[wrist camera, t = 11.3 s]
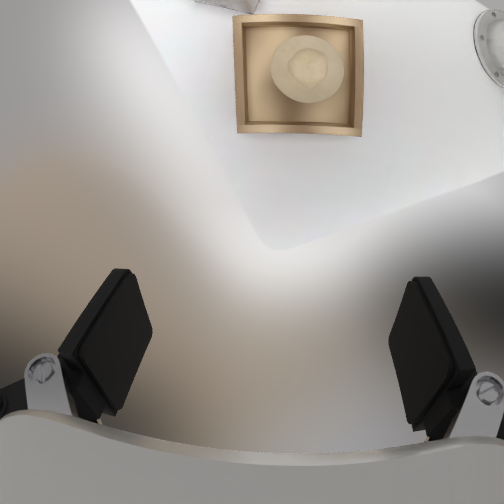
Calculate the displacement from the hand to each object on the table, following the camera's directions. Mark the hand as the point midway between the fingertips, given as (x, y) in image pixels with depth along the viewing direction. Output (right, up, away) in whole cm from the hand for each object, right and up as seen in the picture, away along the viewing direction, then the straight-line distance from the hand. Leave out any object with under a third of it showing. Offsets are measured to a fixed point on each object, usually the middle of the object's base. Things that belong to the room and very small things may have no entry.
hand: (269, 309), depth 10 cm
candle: (+4, +20, +17) cm, 26 cm away
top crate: (+4, +20, +17) cm, 27 cm away
